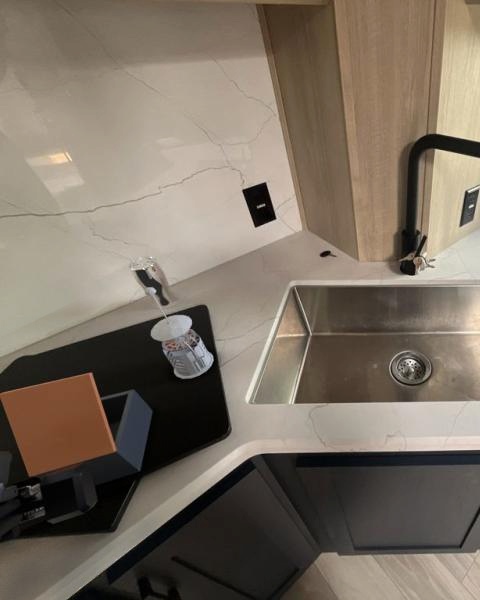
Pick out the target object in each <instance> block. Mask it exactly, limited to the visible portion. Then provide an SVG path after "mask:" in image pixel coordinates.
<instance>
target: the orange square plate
mask: <svg viewBox="0 0 480 600" xmlns="http://www.w3.org/2000/svg"><path fill="white" fill-rule="evenodd" d="M100 398H101V397H100V394H99V391H98V388H97V385H96V380H95V378H94V375H93V372H87V373H83V374H79V375H75V376H70V377H65V378H61V379H57V380H53V381H49V382H44V383H40V384H35V385H30V386H26V387H22V388H17V389H13V390H9V391H4V392H1V393H0V401H1V404H2V406H3V409H4V412H5V414H6V417H7V420H8V423H9V426H10V428H11V431H12V433H13V436H14V439H15V442H16V444H17V447H18V449H19V453H20V455H21V458H22V461H23V464H24V466H25V469H26V472H27V475H28V477H29V478H32V477H33V476H34V475H38V474H41V473H44V472H48V471H51V470H55V469H58V468H62V467H65V466H68V465H72V464H75V463H79V462H82V461H86V460H89V459H92V458H96V457H99V456H103V455H106V454H109V453H113V452H115V451H116V447H115V443H114V440H113V437H112V434H111V431H110V428H109V425H108V422H107V418H106V415H105V412H104V409H103V406H102V403H101V400H100Z"/></svg>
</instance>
